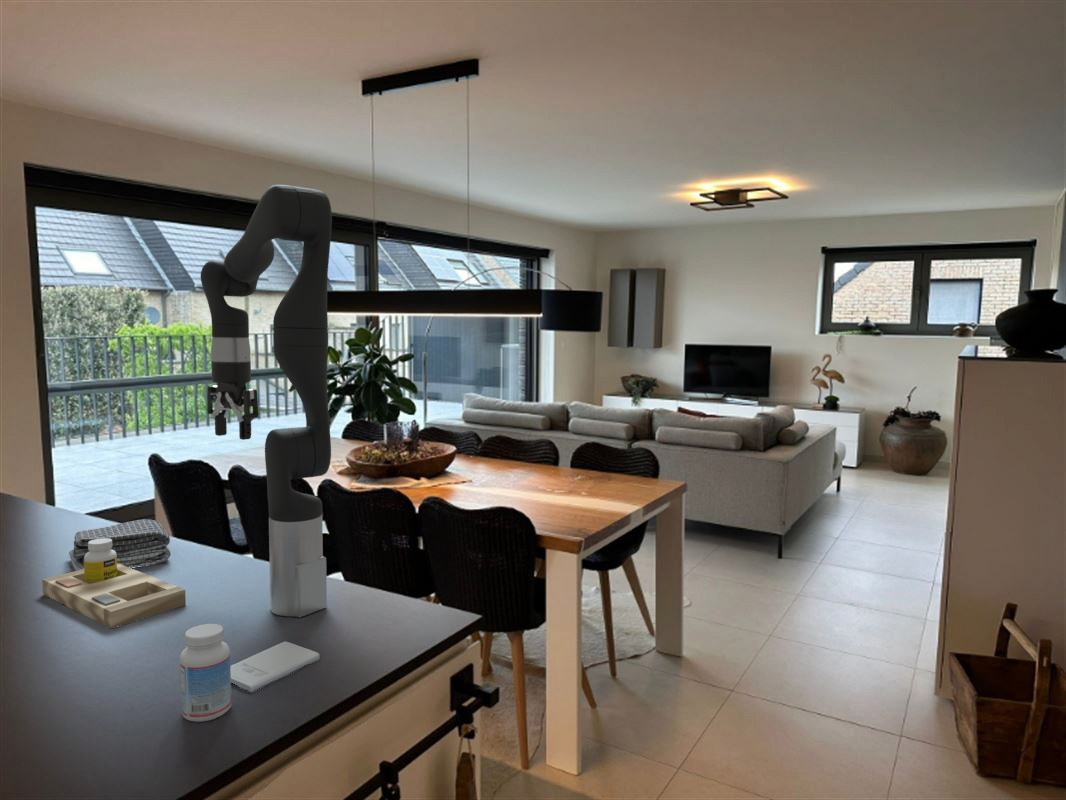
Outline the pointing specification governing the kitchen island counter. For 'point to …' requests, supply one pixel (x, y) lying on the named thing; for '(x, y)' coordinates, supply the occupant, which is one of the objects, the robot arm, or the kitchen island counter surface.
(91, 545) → the supplement bottle
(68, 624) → the kitchen island counter surface
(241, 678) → the external hard drive
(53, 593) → the socket holder
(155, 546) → the towel
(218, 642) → the pill bottle
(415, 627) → the kitchen island counter surface
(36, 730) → the kitchen island counter surface
